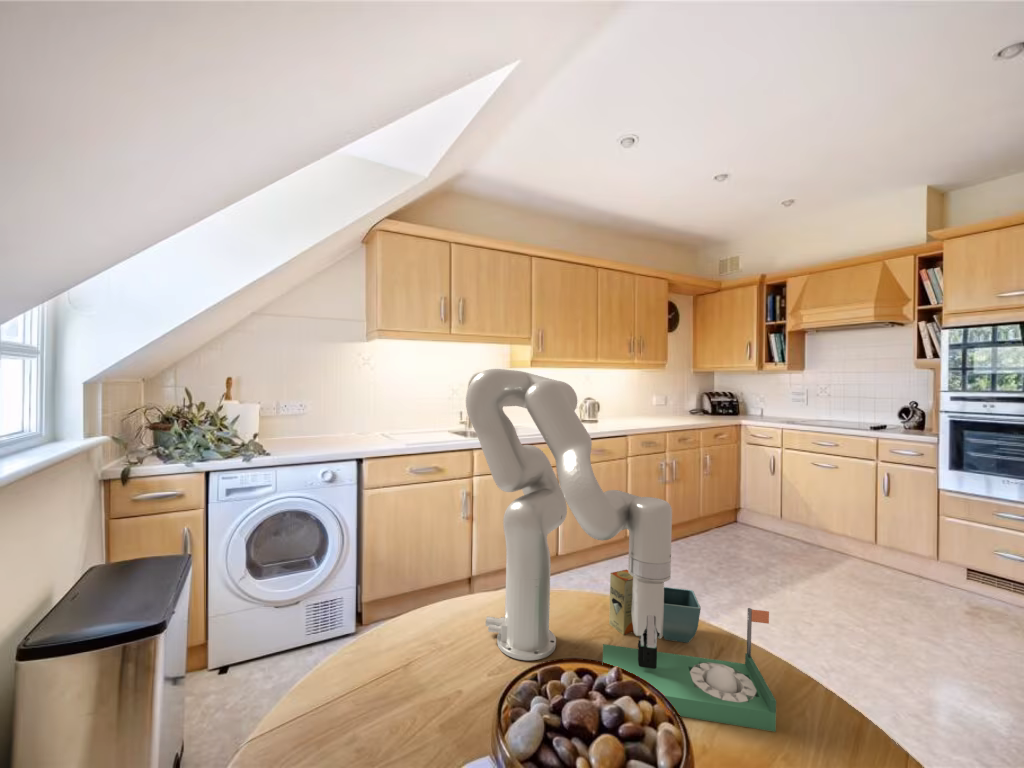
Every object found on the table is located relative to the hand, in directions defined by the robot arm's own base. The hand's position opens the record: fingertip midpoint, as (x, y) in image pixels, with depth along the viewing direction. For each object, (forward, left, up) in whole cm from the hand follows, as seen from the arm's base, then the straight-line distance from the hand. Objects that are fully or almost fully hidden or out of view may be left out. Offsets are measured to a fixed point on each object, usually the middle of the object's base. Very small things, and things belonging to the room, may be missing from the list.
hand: (647, 664), depth 82 cm
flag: (+20, +6, -4) cm, 22 cm away
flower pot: (+8, +19, -4) cm, 21 cm away
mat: (+6, 0, -4) cm, 7 cm away
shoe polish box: (-3, +20, -4) cm, 21 cm away
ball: (+13, 0, -1) cm, 13 cm away
